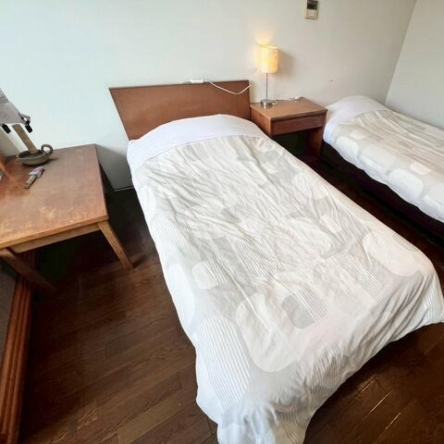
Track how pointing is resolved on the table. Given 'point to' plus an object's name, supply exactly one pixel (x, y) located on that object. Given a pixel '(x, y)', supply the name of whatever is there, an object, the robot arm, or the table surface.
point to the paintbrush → (33, 176)
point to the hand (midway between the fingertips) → (20, 132)
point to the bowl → (35, 156)
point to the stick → (24, 138)
